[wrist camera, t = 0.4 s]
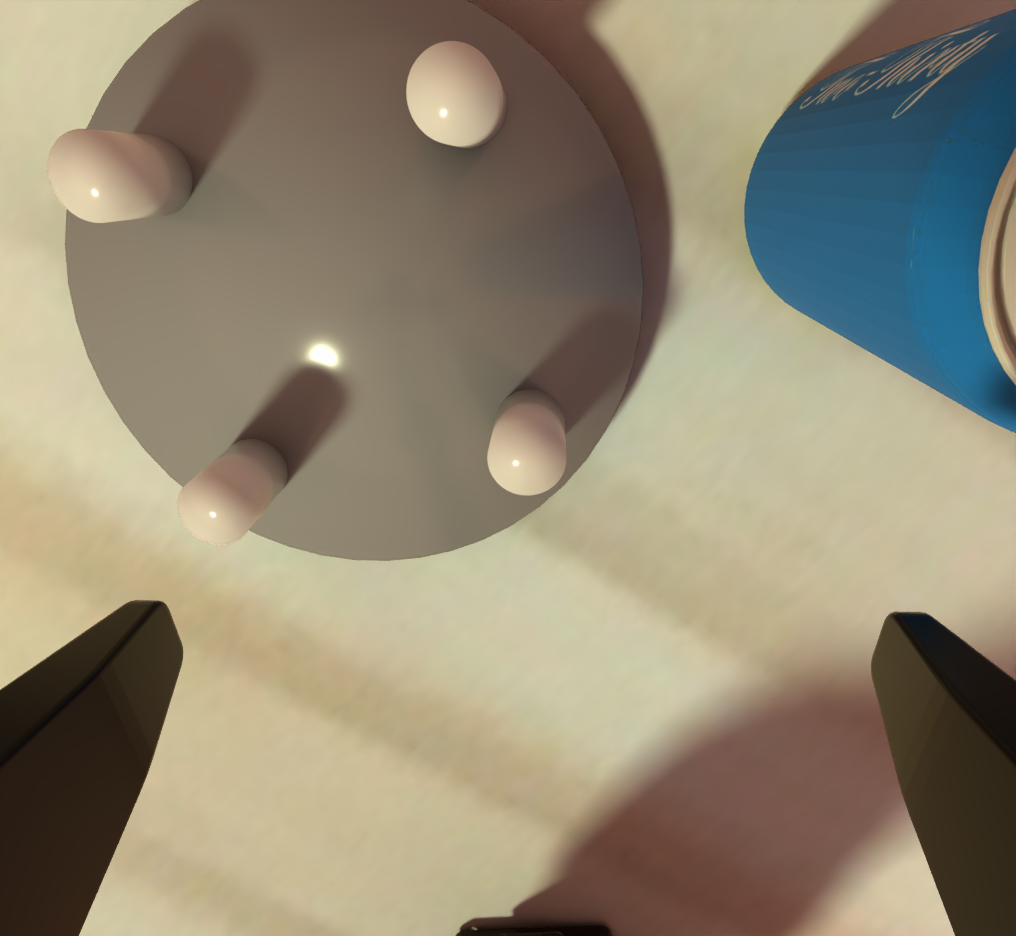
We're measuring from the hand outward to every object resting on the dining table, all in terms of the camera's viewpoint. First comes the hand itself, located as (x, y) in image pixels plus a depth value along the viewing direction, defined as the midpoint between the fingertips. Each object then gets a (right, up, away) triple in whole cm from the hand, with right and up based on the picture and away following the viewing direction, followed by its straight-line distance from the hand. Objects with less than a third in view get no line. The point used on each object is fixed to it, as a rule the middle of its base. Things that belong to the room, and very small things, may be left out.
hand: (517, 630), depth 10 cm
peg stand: (-4, +7, +13) cm, 15 cm away
